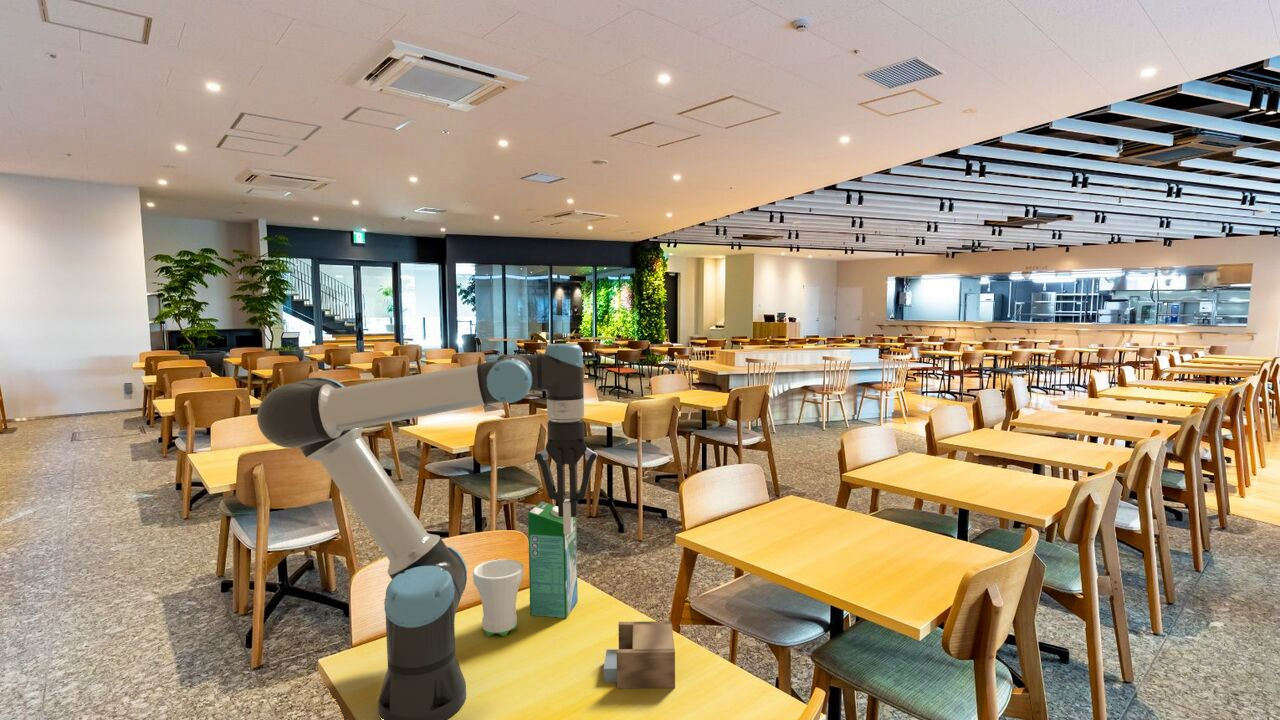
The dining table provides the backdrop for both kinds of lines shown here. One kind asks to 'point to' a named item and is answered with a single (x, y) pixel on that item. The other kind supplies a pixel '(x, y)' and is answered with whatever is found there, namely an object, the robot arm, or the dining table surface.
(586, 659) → the dining table surface
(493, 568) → the cup
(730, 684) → the dining table surface
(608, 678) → the slab
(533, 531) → the milk carton
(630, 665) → the brown notched block
